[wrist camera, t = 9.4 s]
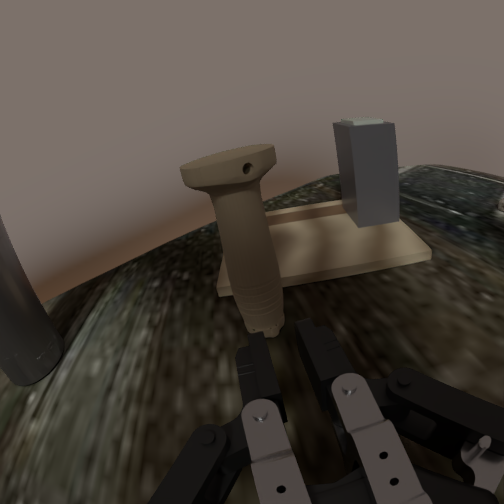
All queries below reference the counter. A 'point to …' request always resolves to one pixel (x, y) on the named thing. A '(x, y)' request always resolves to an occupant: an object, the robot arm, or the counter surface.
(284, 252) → the subfloor panel
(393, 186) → the grey tall block
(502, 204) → the washcloth
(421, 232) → the counter surface
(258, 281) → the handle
